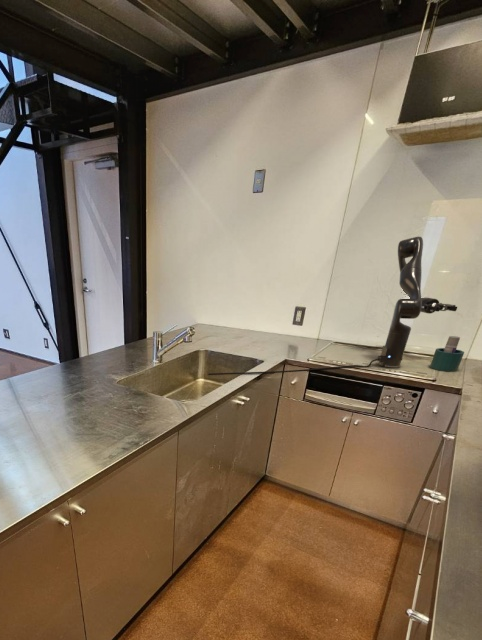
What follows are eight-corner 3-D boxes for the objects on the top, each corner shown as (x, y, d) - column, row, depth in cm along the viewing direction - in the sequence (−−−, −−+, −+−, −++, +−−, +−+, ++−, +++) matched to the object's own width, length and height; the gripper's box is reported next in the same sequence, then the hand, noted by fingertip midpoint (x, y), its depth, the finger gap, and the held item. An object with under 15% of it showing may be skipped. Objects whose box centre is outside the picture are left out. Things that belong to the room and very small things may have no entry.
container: (445, 365, 196) (456, 335, 189) (451, 367, 192) (462, 337, 185) (436, 365, 197) (446, 335, 190) (441, 367, 193) (452, 337, 185)
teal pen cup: (436, 371, 191) (442, 353, 186) (425, 364, 201) (431, 347, 196) (462, 371, 189) (469, 353, 184) (450, 365, 199) (456, 348, 194)
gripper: (415, 298, 204) (436, 301, 190) (442, 297, 204) (464, 301, 190) (411, 312, 208) (431, 317, 193) (437, 312, 207) (459, 316, 193)
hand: (447, 309), depth 191 cm, fingers open, 8 cm apart
